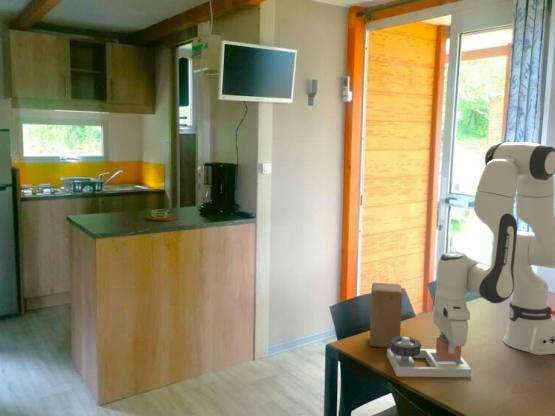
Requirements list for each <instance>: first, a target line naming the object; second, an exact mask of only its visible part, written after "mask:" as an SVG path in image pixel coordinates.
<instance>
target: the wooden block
mask: <svg viewBox="0 0 555 416" xmlns="http://www.w3.org/2000/svg"><path fill="white" fill-rule="evenodd" d="M370 296H371V297H370V320H369V323H370V324H369V346H371V347H372V348H373V347H375V348H386V349H390V347H391V339H392V338H394V337H399V336H401V330H402V329H401V326H402V325H401V323H402V301H403V291H402V285H401V284H399V283H383V282H373V283H372V285H371V292H370Z"/></svg>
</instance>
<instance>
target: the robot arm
mask: <svg viewBox="0 0 555 416" xmlns="http://www.w3.org/2000/svg"><path fill="white" fill-rule="evenodd" d="M484 164H485V167H484V169H483V171H482V174H481V175H480V179H479V181H478V184H477V188H476V193H475V196H474V201H473V210H474V213H475V215H476V216H477V218H478V219H479V220H480V221H481V222H482V223H483V224H485V226H487V227H488V228H489V230H490V231H491V233H492V235H493V241H492V250H493V251H492V261H491V265H487V264H485V263H482V262H480V261H477V260H474V259H472V258H470V257H468V256H467V255H466V254H465V253H464V252H462V251H461V252H460V251H448V252H445V253H443V254H442V255H441V256H440V257H439V260H438V263H437V268H436V281H435V282H436V291H435V298H434V309H433V323H434V325H435V326H436V327H437V328H438V330H439V335H445V336H446V338H447V339H448V340H449V346H448V347H447V351H448V352H449V353H450V354H453V353H455V347H456V346H461V347H464V346H465V345H466V343H467V340H468V338H467V337H468V331H469V322H468V321H469V320H470V319H471V313H470V311H469V308H468V307H467V306H468V305H467V302H466V301H467V293H472V294H474V295H476V296H479V297H480V298H482V299H484V300H486V301H488V302H489V303H491V304H501V303H503V302H505V301H506V300H508V299H509V298H510V297H511V299H510V302H509V305H508V306H509V307H508V323H507V328H506V330H505V334H504V337H503V338H502V341H503V343H504V344H505V345H507V346H509V347H512V348H514V349H516V350H519V351H524V352H528V353H530V354H533V355H537V356H543V355H555V318H554V317H555V308H552V307H550V306H548V297H549V286H548V283H547V281H546V279H544V278H543V277H542V276H540V275H538V274H537V273H536V272H535V271H534V269H533V268H532V266H536V267H540V268H541V267H542V268H548V269H555V201H554V200H555V179H554V174H555V148H554V147H553V146H551V145H547V144H545V143H544V144H543V143H534V142H525V141H520V142H519V141H518V142H506V141H500V142H497V143H496V142H495V143H493V144H491V146H490V147H489V148H488V149H487V150H486V152H485V157H484ZM515 198H516V199H515ZM515 201H516V202H515ZM515 203H516V204H515ZM514 206H516V207H515V214H516V216H517V218H518V219H519V221H521V222H523V223H524V224H525V225H528V227H530V229H531V230H532V231H531V232H530V231H523V230H518V223H517V219H516V218H515V214H514ZM552 316H554V317H552Z"/></svg>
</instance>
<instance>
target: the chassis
mask: <svg viewBox="0 0 555 416" xmlns="http://www.w3.org/2000/svg"><path fill="white" fill-rule="evenodd" d="M409 337H410V336H406V337H402V345H405V346H410V338H409ZM386 356H387V357H386V358H387V359H388V361H389V364H390V365H391V367H392V369H393V372H394V374H395V375H396V377H403V378H404V377H405V378H407V377H413V378H414V377H415V378H416V377H419V378H425V377H426V378H430V377H431V378H432V377H435V378H471V377H472V368H471V366H470V365H469V364H468V363H467V362H466V360H465V359H464V358H463V356H461V360H441V359H440V358H439V356H438V355H437V354H436V348H421V350H420V354H419V355H417V356H412V357H405V356H400V355H398V354H395V353H393V352H392V351H391V349H390V348H386ZM414 359H425V360H426V361H427V363H428V365H429V366H416V363H415V361H414Z"/></svg>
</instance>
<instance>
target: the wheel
mask: <svg viewBox="0 0 555 416" xmlns="http://www.w3.org/2000/svg"><path fill="white" fill-rule="evenodd" d="M402 337H407V336H401V335H400V336H399V337H394V338H392V339H391V347H390V348H389V349H391V351H392V352H393V353H395V354H398V355H400V356H405V357H412V356H417V355H419V354H420V350H421V349H422V345H421V344H422V343H421V342H420V340H418V338H413V337H411V336H408V337H409V338H410V346H405V345H402Z"/></svg>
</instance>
